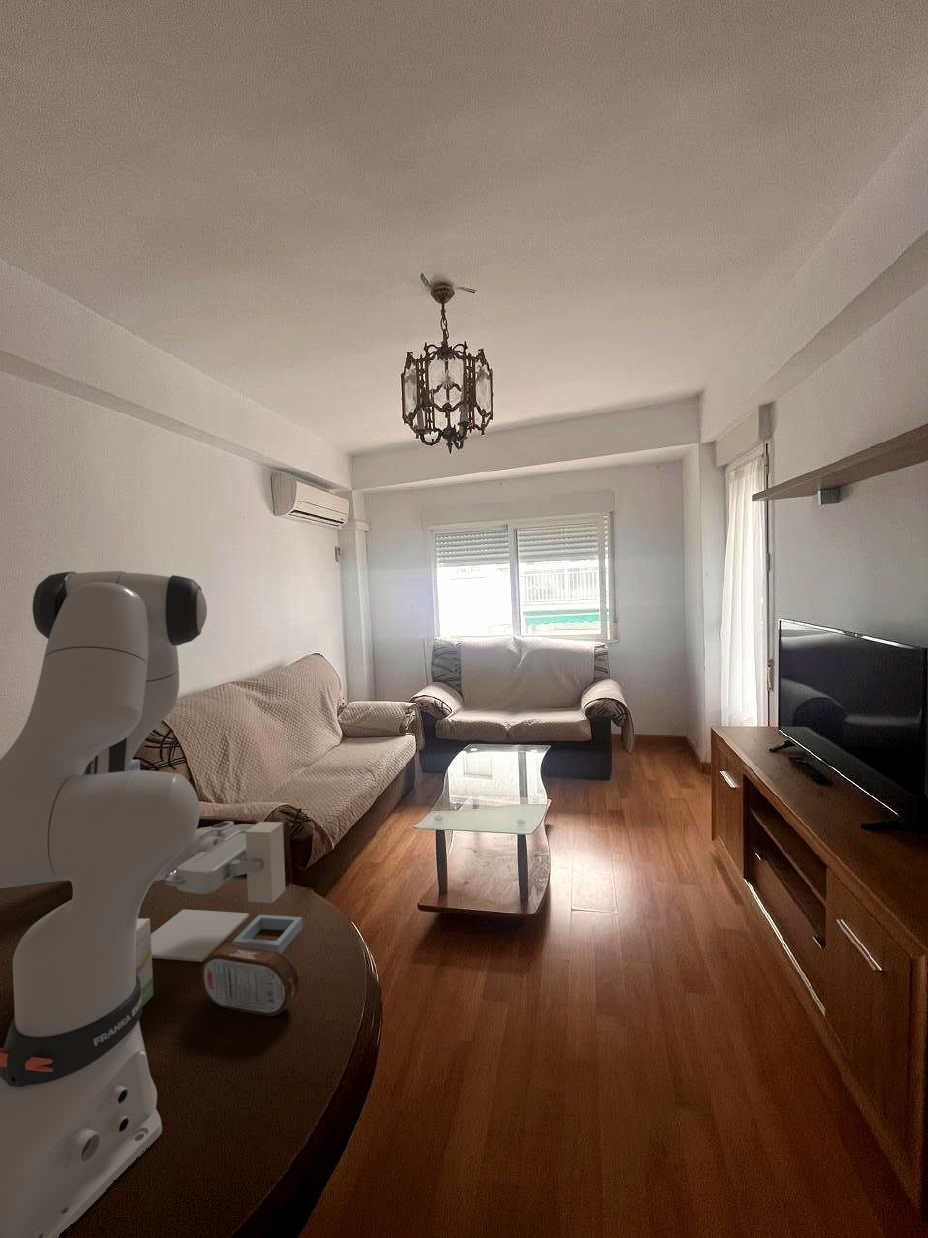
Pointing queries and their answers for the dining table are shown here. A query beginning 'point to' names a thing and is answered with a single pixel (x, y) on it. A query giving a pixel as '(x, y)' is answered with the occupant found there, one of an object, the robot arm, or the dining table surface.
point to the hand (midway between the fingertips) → (270, 858)
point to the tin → (250, 979)
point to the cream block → (266, 861)
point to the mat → (194, 934)
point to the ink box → (144, 958)
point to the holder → (275, 923)
